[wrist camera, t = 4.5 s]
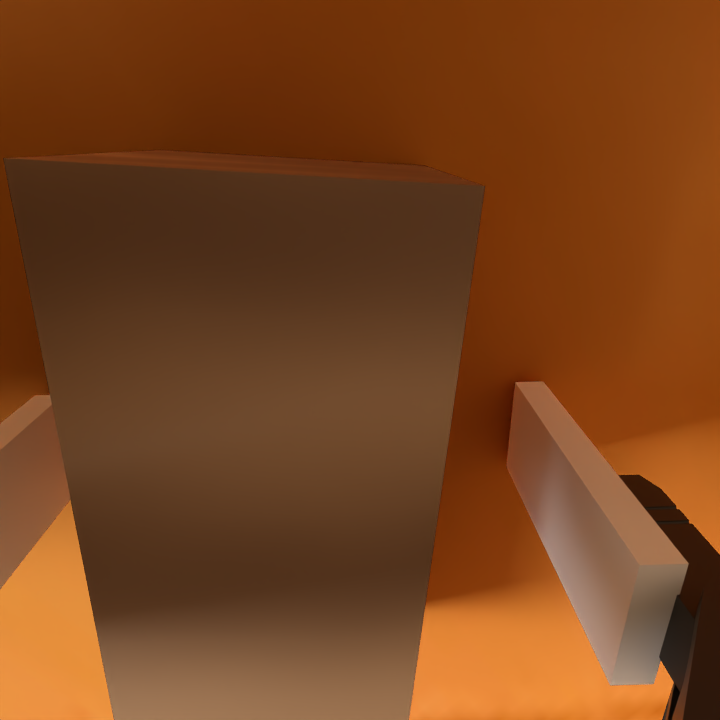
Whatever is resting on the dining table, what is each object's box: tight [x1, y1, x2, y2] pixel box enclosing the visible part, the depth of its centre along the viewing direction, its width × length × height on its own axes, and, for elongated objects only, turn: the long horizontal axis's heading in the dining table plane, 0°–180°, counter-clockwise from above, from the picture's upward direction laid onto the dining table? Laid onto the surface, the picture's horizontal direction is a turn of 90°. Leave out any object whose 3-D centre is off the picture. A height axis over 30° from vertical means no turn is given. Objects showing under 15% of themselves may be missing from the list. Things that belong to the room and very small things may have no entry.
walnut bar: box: [3, 150, 485, 720], centre depth 12 cm, size 14×6×6 cm, turn 177°
